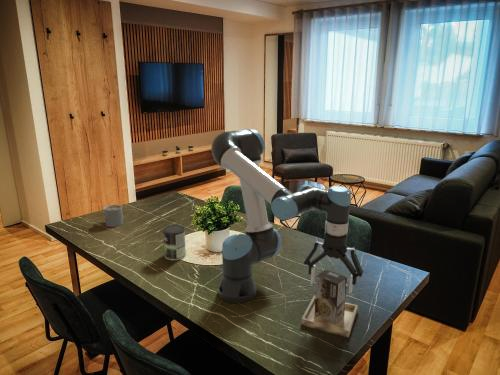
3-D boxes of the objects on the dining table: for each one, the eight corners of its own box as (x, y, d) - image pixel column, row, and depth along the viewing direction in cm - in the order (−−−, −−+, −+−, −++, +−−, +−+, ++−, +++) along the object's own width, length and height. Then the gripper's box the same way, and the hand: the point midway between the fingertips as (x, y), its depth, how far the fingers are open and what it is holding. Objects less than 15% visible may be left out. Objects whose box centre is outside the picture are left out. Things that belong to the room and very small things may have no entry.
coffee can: (165, 261, 183) (164, 234, 179) (163, 252, 192) (161, 226, 188) (187, 258, 186) (186, 231, 182) (184, 249, 195) (183, 223, 191)
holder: (301, 324, 138) (301, 318, 137) (314, 300, 152) (314, 295, 151) (348, 337, 131) (349, 331, 130) (357, 311, 145) (357, 305, 145)
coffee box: (344, 316, 141) (348, 277, 136) (335, 325, 136) (338, 284, 132) (323, 307, 147) (325, 268, 142) (313, 314, 142) (315, 275, 137)
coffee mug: (126, 223, 228) (125, 207, 226) (110, 228, 222) (108, 211, 219) (115, 217, 238) (114, 202, 235) (100, 222, 231) (98, 206, 228)
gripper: (297, 229, 133) (294, 283, 140) (372, 243, 124) (365, 301, 130) (303, 221, 140) (300, 274, 146) (375, 234, 130) (368, 290, 137)
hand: (331, 287), depth 138 cm, fingers open, 13 cm apart
